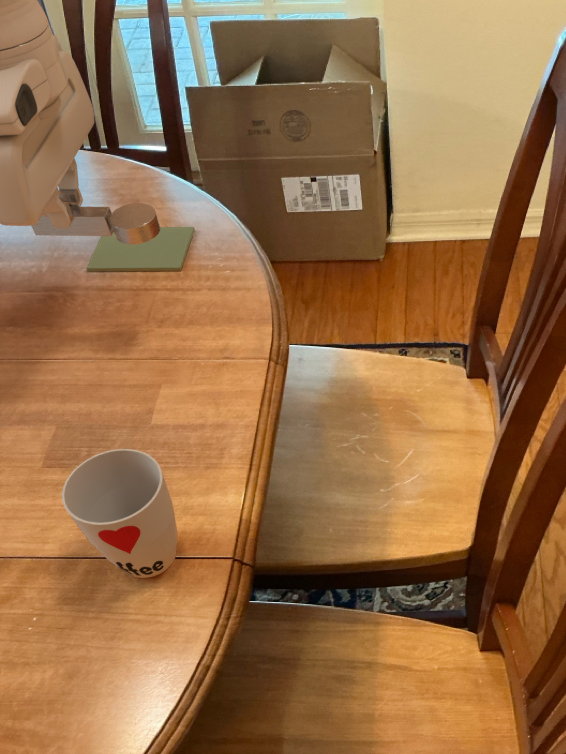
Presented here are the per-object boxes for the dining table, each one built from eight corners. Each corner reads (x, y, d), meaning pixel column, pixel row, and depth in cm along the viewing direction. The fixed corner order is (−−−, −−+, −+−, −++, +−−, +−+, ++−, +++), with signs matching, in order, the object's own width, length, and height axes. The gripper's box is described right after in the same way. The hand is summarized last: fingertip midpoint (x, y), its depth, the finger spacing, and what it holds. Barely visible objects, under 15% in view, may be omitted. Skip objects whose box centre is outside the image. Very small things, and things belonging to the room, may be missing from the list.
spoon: (31, 243, 78) (21, 223, 76) (45, 218, 81) (37, 198, 79) (154, 244, 78) (148, 224, 76) (165, 219, 80) (159, 199, 78)
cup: (87, 578, 69) (41, 510, 61) (133, 511, 74) (96, 439, 66) (166, 602, 68) (129, 535, 60) (208, 531, 72) (180, 460, 64)
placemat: (87, 271, 97) (86, 268, 97) (106, 230, 102) (104, 227, 102) (181, 270, 97) (180, 267, 96) (194, 230, 102) (194, 226, 101)
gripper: (15, 18, 73) (70, 162, 84) (-73, 124, 61) (4, 275, 72) (80, 18, 73) (126, 162, 84) (4, 125, 61) (69, 276, 72)
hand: (69, 215), depth 78 cm, fingers closed on spoon, 2 cm apart
